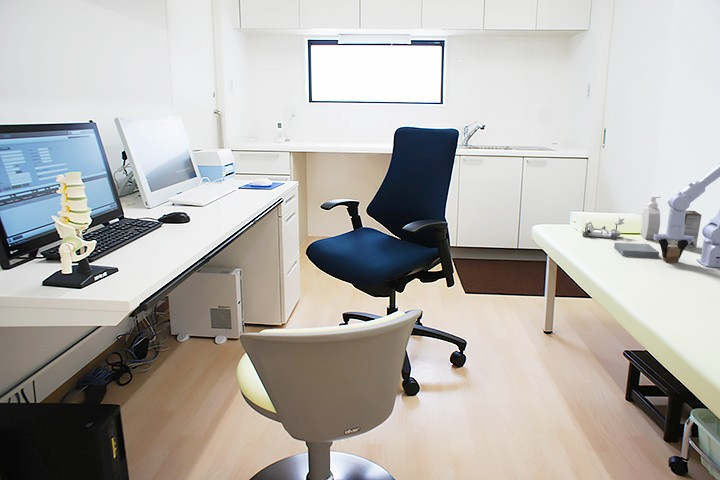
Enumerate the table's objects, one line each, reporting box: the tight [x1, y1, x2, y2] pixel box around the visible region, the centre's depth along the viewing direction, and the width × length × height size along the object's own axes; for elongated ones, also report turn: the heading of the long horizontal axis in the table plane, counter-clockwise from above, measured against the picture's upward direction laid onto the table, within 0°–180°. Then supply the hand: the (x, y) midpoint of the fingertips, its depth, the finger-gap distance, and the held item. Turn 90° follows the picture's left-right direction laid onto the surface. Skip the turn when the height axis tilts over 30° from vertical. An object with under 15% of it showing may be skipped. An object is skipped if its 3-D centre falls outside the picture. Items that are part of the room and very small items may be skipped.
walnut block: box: [662, 245, 680, 264], centre depth 229 cm, size 4×4×6 cm
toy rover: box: [582, 217, 625, 241], centre depth 272 cm, size 18×10×12 cm
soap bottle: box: [640, 195, 661, 241], centre depth 269 cm, size 16×5×20 cm, turn 165°
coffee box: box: [674, 210, 702, 251], centre depth 251 cm, size 9×6×16 cm
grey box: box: [613, 242, 660, 259], centre depth 242 cm, size 14×14×3 cm
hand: (670, 257), depth 229 cm, fingers open, 5 cm apart
